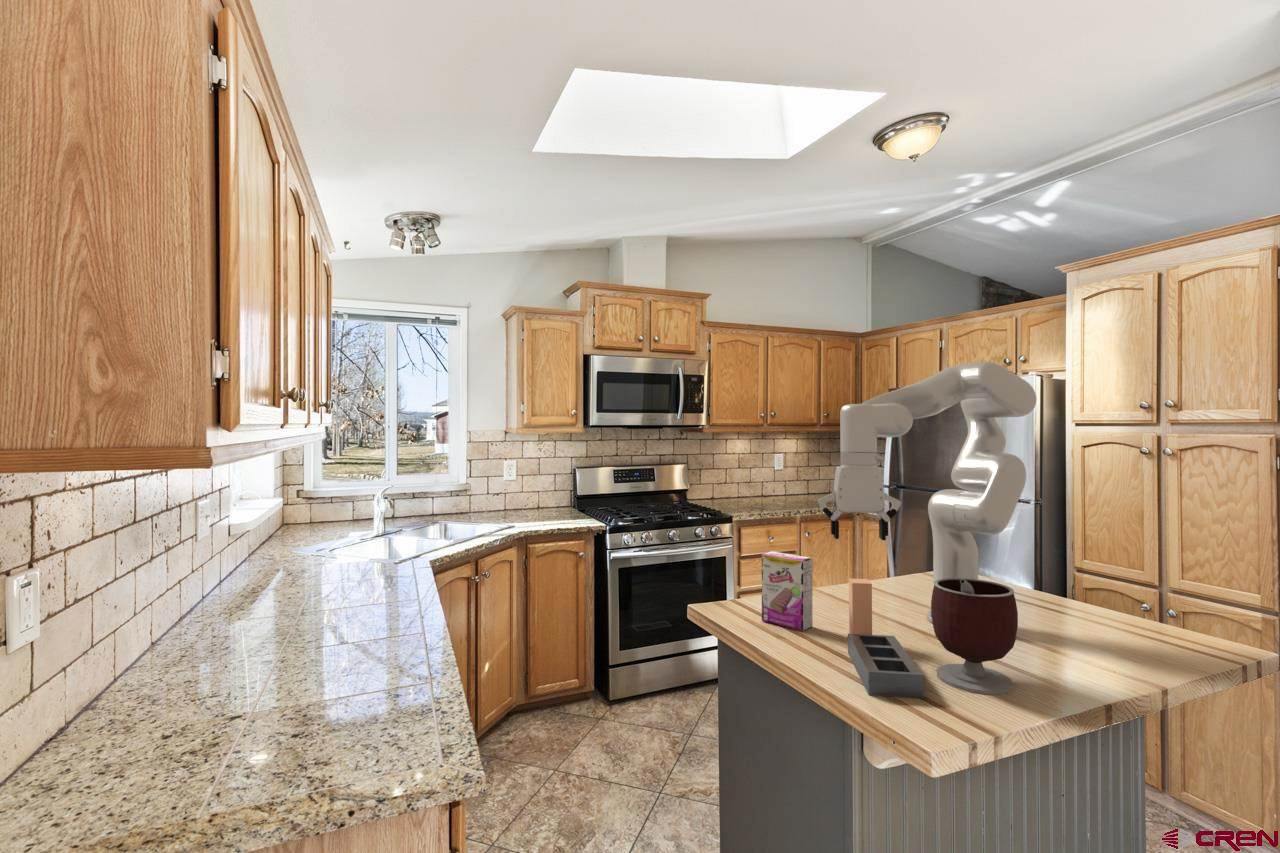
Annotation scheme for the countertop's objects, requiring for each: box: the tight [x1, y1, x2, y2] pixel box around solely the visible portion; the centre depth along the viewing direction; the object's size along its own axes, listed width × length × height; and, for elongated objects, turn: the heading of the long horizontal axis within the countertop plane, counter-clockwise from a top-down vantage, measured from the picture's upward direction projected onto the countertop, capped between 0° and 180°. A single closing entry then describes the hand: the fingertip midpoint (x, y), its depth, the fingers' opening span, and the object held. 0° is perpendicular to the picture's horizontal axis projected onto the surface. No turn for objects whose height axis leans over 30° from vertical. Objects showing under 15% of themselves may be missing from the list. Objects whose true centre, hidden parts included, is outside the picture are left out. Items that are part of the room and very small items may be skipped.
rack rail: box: [847, 633, 925, 700], centre depth 112 cm, size 9×20×4 cm, turn 171°
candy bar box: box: [761, 550, 813, 632], centre depth 142 cm, size 11×5×16 cm, turn 47°
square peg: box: [848, 578, 873, 635], centre depth 130 cm, size 4×4×13 cm
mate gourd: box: [930, 578, 1019, 695], centre depth 109 cm, size 16×14×20 cm
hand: (859, 538), depth 131 cm, fingers open, 9 cm apart
